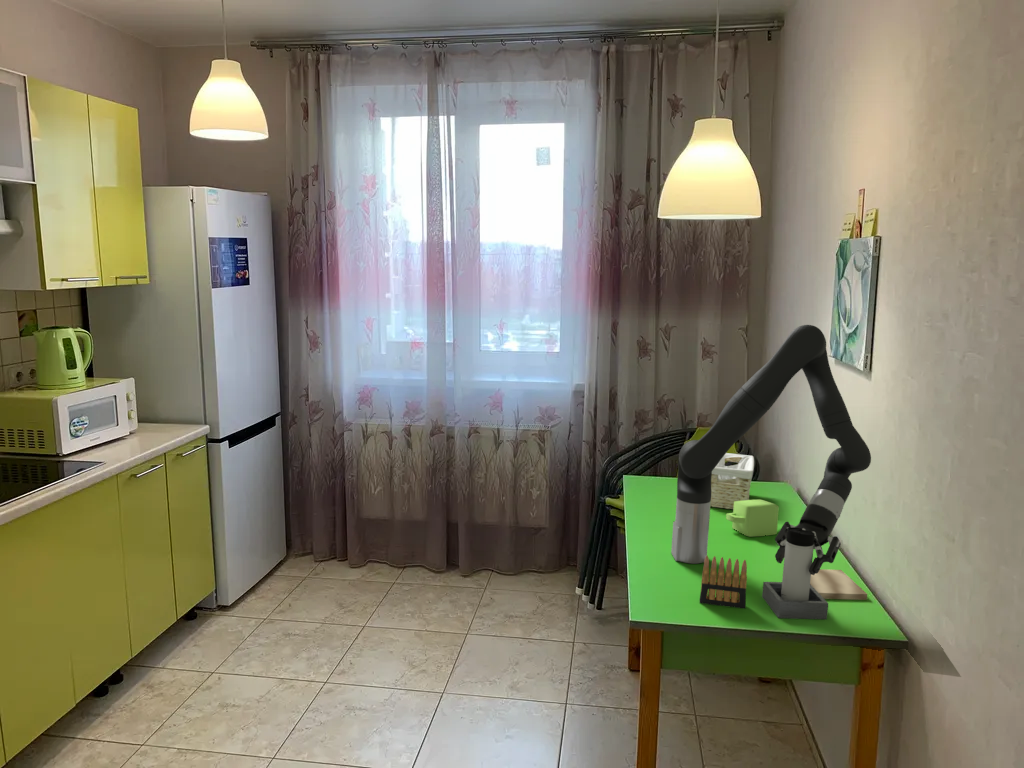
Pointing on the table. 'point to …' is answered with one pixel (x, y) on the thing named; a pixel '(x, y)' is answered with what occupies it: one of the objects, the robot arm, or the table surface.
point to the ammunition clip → (724, 584)
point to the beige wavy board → (836, 585)
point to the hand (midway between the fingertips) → (794, 567)
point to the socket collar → (794, 603)
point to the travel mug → (797, 564)
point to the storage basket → (731, 480)
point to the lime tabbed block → (754, 517)
